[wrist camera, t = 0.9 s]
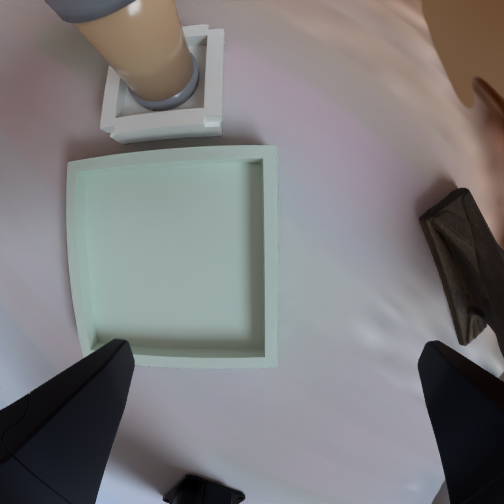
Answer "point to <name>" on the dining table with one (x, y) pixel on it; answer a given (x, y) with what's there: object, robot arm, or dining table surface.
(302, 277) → the dining table surface
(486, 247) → the sculpture
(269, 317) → the tray
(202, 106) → the tray
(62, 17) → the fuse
